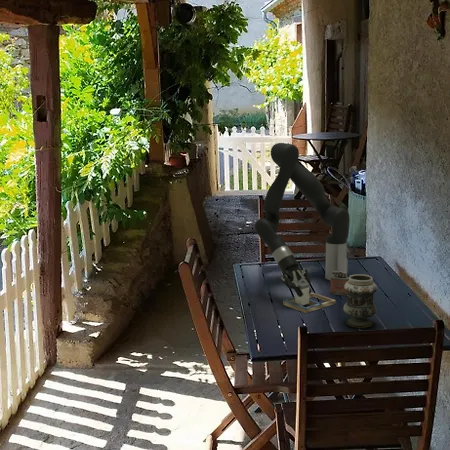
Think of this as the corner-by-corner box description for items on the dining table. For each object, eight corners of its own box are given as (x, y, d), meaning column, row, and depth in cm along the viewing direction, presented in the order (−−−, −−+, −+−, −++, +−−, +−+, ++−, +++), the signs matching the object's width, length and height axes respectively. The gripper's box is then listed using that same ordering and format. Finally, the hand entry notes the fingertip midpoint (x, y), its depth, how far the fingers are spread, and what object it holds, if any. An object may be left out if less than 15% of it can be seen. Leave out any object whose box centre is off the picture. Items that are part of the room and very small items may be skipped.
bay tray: (312, 295, 267) (312, 291, 266) (335, 303, 257) (335, 299, 256) (283, 304, 257) (283, 300, 256) (305, 313, 247) (305, 308, 246)
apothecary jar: (371, 316, 241) (372, 272, 238) (379, 328, 230) (381, 281, 226) (339, 317, 241) (341, 272, 237) (347, 329, 229) (348, 282, 225)
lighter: (349, 293, 269) (349, 271, 267) (348, 295, 266) (348, 273, 264) (330, 291, 272) (330, 269, 269) (329, 294, 268) (329, 271, 266)
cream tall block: (302, 300, 257) (302, 281, 255) (309, 303, 254) (309, 284, 252) (295, 302, 254) (295, 283, 253) (302, 305, 251) (302, 286, 250)
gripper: (276, 257, 252) (297, 293, 245) (302, 251, 260) (323, 286, 253) (267, 267, 257) (288, 303, 250) (293, 261, 265) (313, 295, 258)
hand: (305, 294), depth 252 cm, fingers closed on cream tall block, 4 cm apart
